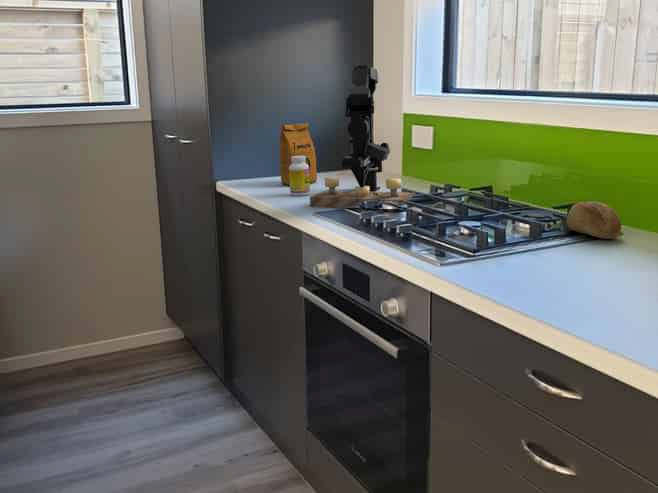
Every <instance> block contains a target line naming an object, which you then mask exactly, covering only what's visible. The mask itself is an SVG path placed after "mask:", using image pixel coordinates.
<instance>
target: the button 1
mask: <svg viewBox="0 0 658 493" xmlns="http://www.w3.org/2000/svg"><path fill="white" fill-rule="evenodd" d="M339 186H340V177H338V176H329V177H324V187H325V188H328V190H329V195H336V191H335V190H336V188H337V187H339Z"/></svg>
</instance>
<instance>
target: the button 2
mask: <svg viewBox="0 0 658 493" xmlns="http://www.w3.org/2000/svg"><path fill="white" fill-rule="evenodd" d="M385 184H386V185H385V188H386V189H387V190H390V191H389V192H390V196H391V197H397V192H398V189H401V188H402V179H401V178H388V179H386V180H385Z"/></svg>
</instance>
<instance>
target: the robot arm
mask: <svg viewBox="0 0 658 493" xmlns="http://www.w3.org/2000/svg"><path fill="white" fill-rule="evenodd" d="M350 77H351V79H350V81H351V84H352V85H353V88H351V89H350V90H349V91H348V94H347V95H348V96H346V97H345V117H346V118H350V121H349V123H348V124H347V128H346V130H347V133H348V135H349V137H350V139H348V143H349V144H351V145H350V146H351V152H349V154H348V156H345V157H343V158H342V159H341V160H340V168H345V169H346V168H347V169H350V171H351V172H352V174H353V176H354V178H355V180H356V182H357V184H358V186H360V187H364V186H369V187H370V191H372V192H377V191H378V190H380V189H381V186H378V184H377V182H378V180H377V176H378V175H377V173H382V172H383V162H384V161H385V160H387V159H388V156H389V154H390V153H391V151H390V150H391V148H390V146H389V143H388V142H382V143H381V144H379V143H374V139H373V138H374V136H373V133H374V132H373V114H375V99H374V96H373V95H374V94H375V92H376V90H377V84H379V73H378V69H376V68H375V67H372V66H371V65H370V64H357V65H354V68H353V69H352V70H350Z"/></svg>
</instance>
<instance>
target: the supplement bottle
mask: <svg viewBox="0 0 658 493" xmlns="http://www.w3.org/2000/svg"><path fill="white" fill-rule="evenodd" d="M291 160H292V164H291V165H290V166H289V176H290V185H289V191H290V195H291V196H292V197H293V196H294V197H304V196H309V195H310V193H311V183H310V181H309V166H308V165H307V164H306V163H305V160H306V159H305V156H293V157H291Z"/></svg>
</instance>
